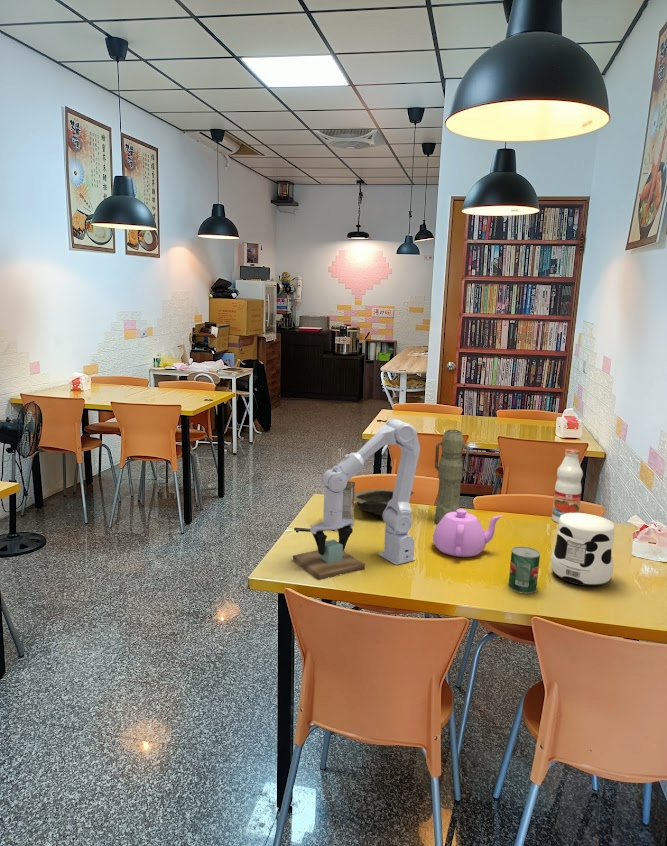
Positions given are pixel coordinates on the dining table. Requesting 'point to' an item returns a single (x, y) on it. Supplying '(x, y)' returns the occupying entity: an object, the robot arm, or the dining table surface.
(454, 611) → the dining table surface
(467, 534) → the teapot
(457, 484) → the thermos
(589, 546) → the milk container
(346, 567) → the walnut board
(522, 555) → the canned tomato
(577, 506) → the fruit juice
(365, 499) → the stone bowl
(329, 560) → the teal cube
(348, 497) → the coffee box
